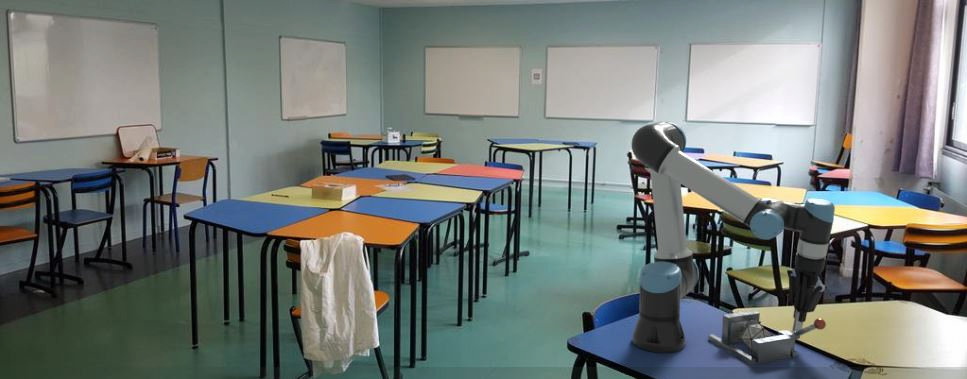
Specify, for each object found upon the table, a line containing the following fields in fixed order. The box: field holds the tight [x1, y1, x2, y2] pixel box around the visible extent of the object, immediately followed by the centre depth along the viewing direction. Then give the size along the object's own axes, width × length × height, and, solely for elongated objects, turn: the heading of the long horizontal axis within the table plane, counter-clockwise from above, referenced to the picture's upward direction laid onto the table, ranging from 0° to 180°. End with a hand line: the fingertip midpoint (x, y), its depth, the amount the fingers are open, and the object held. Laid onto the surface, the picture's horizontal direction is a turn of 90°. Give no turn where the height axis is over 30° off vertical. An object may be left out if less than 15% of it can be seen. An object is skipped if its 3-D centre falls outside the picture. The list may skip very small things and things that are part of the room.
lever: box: [790, 318, 827, 341], centre depth 194 cm, size 3×3×14 cm
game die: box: [738, 320, 775, 354], centre depth 198 cm, size 9×8×10 cm
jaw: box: [721, 310, 761, 345], centre depth 204 cm, size 3×11×8 cm, turn 108°
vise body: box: [707, 329, 798, 366], centre depth 200 cm, size 19×18×6 cm
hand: (797, 330), depth 198 cm, fingers closed
